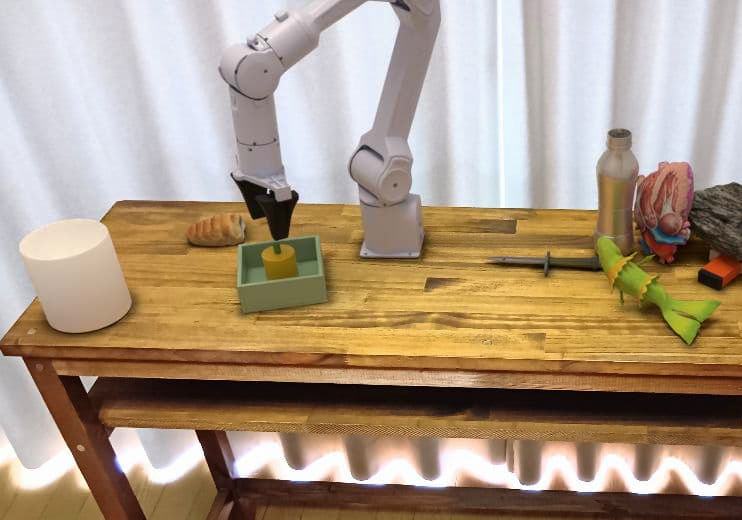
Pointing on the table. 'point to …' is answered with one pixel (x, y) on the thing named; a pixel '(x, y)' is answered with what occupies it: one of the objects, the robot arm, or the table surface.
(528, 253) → the table surface
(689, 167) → the anatomical model
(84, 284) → the cup
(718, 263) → the toy
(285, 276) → the pepper
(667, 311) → the toy
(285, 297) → the basket
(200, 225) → the pastry
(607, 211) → the plastic bottle
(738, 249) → the rock
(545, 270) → the knife
